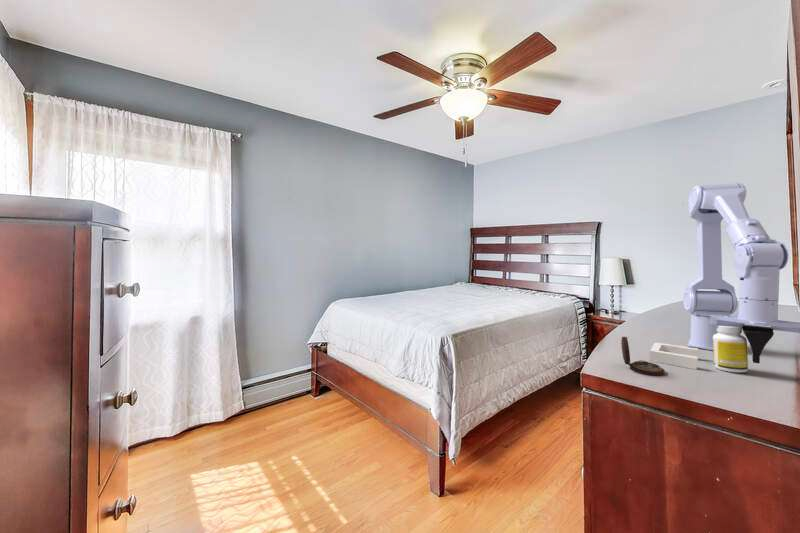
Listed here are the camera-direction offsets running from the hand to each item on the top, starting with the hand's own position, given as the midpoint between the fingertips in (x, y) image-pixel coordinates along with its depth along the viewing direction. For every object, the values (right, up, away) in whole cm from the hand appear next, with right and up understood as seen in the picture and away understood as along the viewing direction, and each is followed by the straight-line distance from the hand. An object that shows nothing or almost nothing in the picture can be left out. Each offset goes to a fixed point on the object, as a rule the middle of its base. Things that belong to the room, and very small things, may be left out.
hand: (755, 362), depth 71 cm
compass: (-22, -3, +4) cm, 22 cm away
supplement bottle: (-3, -3, +3) cm, 5 cm away
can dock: (-9, -2, +9) cm, 13 cm away
